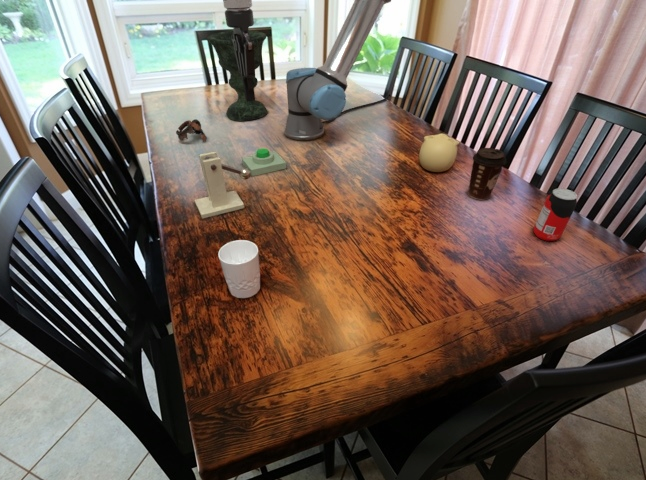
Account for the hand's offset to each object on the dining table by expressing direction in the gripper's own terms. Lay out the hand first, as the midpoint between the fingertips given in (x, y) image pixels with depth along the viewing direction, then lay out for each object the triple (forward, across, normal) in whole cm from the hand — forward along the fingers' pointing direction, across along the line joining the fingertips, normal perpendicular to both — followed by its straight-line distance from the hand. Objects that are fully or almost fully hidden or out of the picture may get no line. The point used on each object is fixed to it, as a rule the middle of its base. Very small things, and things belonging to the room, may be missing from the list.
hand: (250, 100), depth 118 cm
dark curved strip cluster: (+20, -29, -15) cm, 38 cm away
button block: (+20, +5, 0) cm, 21 cm away
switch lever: (+11, +23, -17) cm, 30 cm away
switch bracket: (+20, +23, -20) cm, 36 cm away
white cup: (+20, +58, -26) cm, 67 cm away
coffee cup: (+21, +54, +48) cm, 75 cm away
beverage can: (+21, +77, +48) cm, 93 cm away
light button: (+16, +5, 0) cm, 17 cm away
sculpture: (+21, +34, +49) cm, 63 cm away
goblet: (+20, -46, +13) cm, 52 cm away
